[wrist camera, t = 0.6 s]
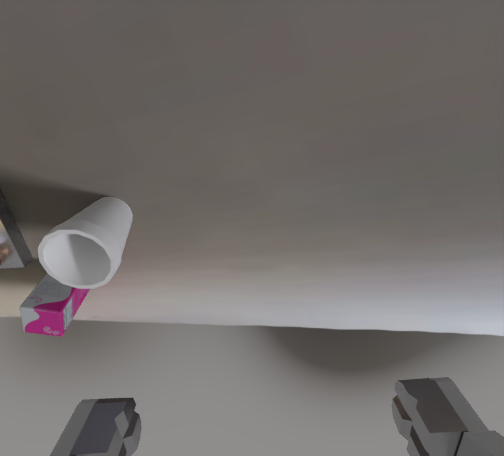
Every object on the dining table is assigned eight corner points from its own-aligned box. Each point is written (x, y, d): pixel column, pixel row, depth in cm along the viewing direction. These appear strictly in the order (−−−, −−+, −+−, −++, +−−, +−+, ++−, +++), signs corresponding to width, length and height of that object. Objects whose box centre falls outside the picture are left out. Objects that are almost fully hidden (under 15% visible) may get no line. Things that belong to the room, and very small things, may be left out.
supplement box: (58, 283, 57) (21, 332, 47) (57, 258, 54) (17, 305, 44) (91, 289, 58) (61, 338, 48) (91, 264, 55) (60, 311, 45)
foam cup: (154, 218, 51) (131, 265, 40) (116, 247, 54) (85, 299, 42) (108, 176, 47) (68, 215, 36) (70, 209, 50) (22, 256, 38)
